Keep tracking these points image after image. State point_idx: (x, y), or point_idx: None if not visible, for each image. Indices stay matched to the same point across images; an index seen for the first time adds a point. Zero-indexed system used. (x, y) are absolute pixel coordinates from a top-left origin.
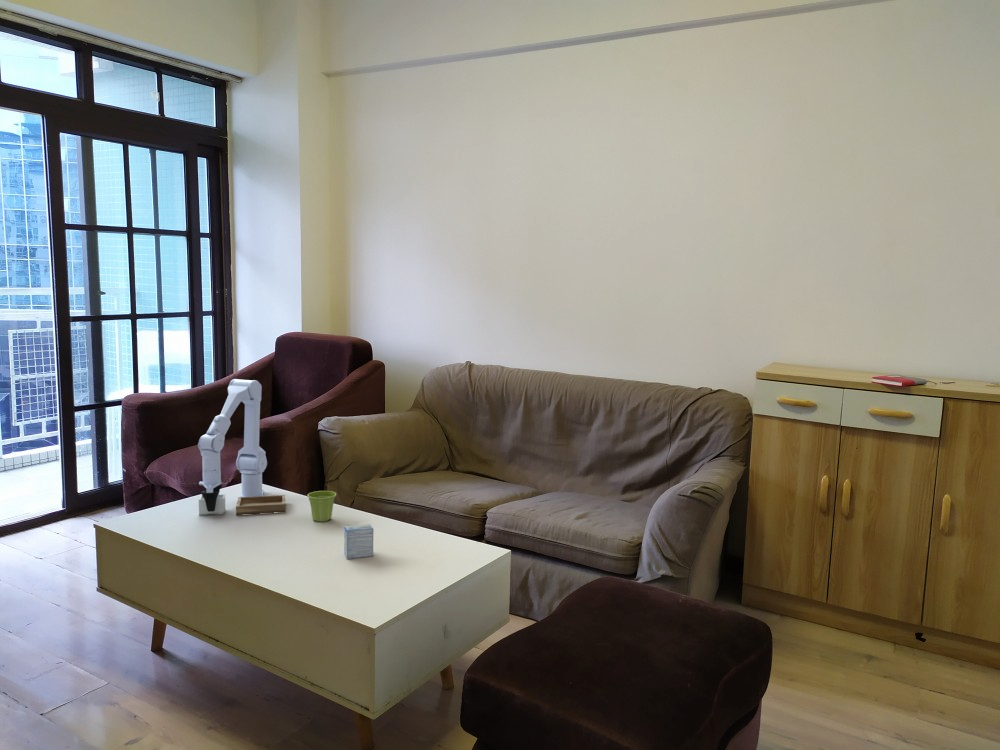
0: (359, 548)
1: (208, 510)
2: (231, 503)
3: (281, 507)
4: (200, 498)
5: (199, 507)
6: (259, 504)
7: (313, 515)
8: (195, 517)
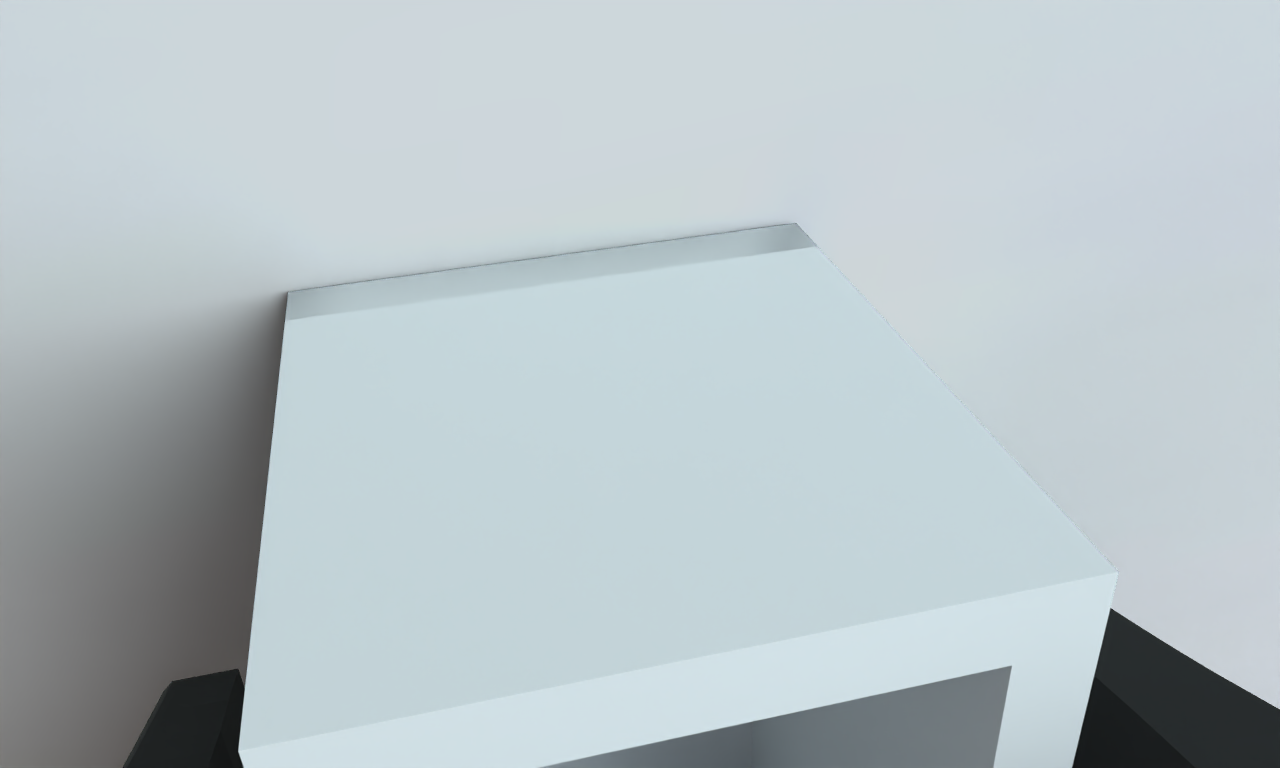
0: None
1: (156, 731)
2: None
3: None
4: (490, 755)
5: (282, 471)
6: None
7: None
8: (20, 231)
